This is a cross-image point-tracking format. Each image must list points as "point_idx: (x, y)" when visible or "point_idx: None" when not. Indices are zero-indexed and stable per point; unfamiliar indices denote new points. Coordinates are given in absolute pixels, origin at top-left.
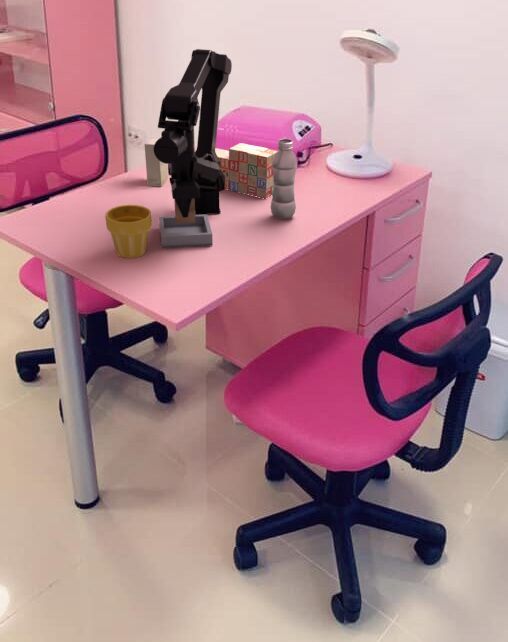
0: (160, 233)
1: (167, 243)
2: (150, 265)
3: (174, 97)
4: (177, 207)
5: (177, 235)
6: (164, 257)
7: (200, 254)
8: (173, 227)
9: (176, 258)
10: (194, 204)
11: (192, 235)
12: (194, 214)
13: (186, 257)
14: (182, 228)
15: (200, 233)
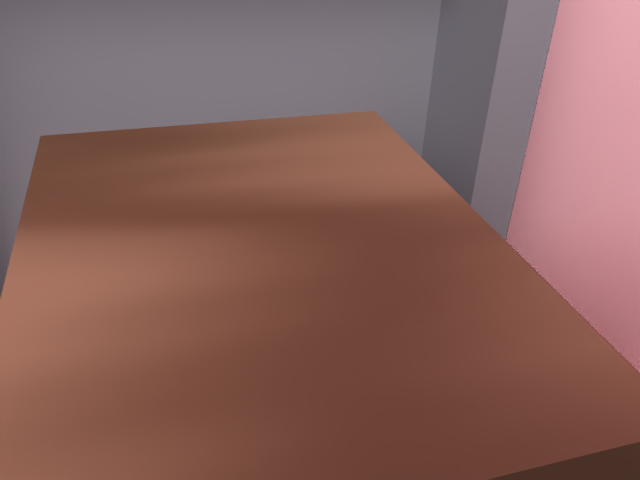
0: None
1: None
2: (630, 349)
3: None
4: None
5: None
6: (564, 288)
7: (631, 5)
8: (1, 290)
9: (612, 209)
10: (556, 302)
11: (528, 120)
12: (429, 179)
13: (630, 135)
14: (22, 195)
15: (520, 15)
